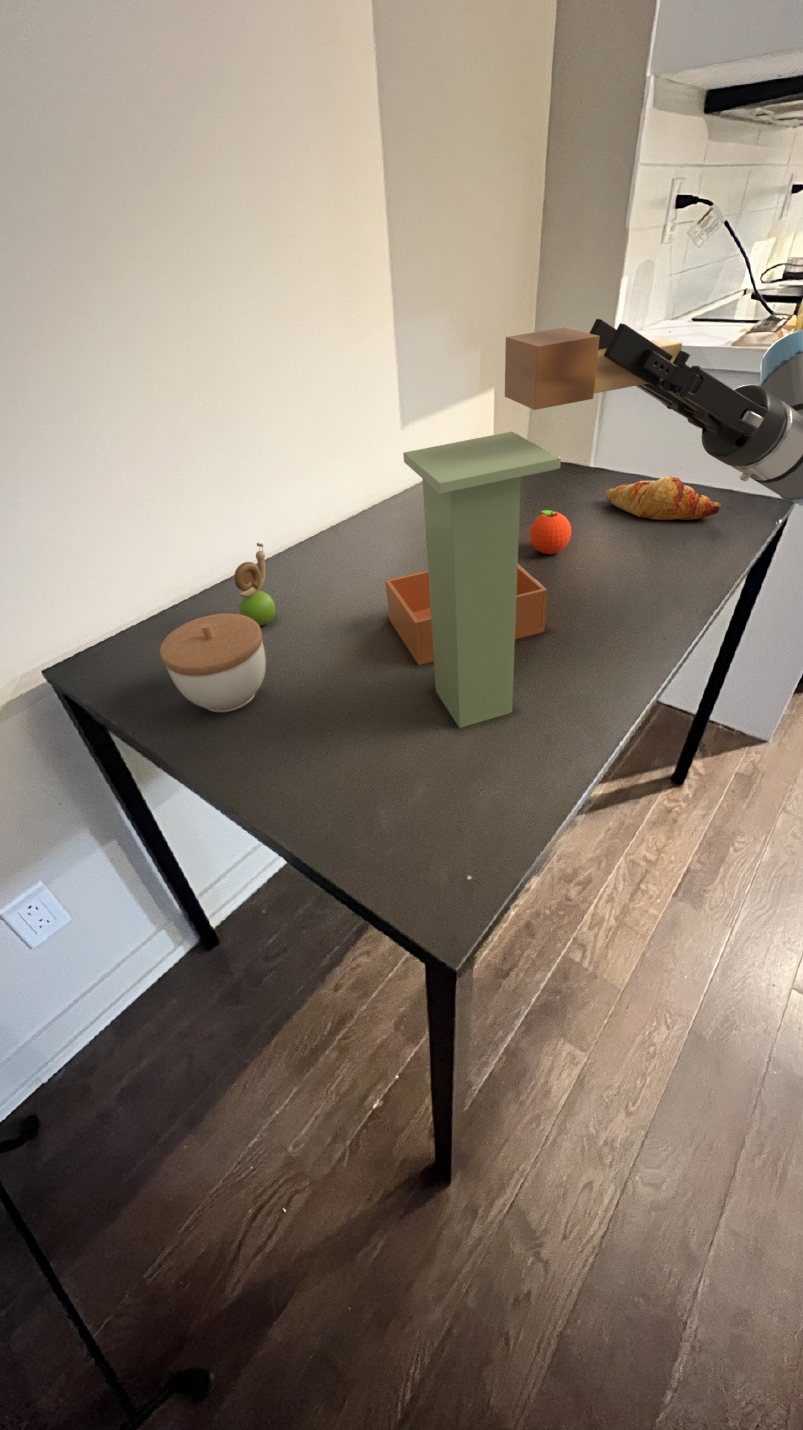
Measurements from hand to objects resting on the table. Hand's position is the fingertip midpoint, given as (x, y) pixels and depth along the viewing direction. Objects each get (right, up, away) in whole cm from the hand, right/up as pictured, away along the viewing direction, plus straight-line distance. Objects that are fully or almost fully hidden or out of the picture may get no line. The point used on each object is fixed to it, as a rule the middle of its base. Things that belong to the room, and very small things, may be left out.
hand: (602, 337), depth 57 cm
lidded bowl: (-42, -32, +27) cm, 59 cm away
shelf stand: (-7, -32, +22) cm, 40 cm away
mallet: (0, -3, +3) cm, 4 cm away
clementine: (+7, -6, +52) cm, 53 cm away
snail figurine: (-40, -20, +42) cm, 61 cm away
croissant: (+30, +4, +61) cm, 68 cm away
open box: (-9, -21, +36) cm, 42 cm away
